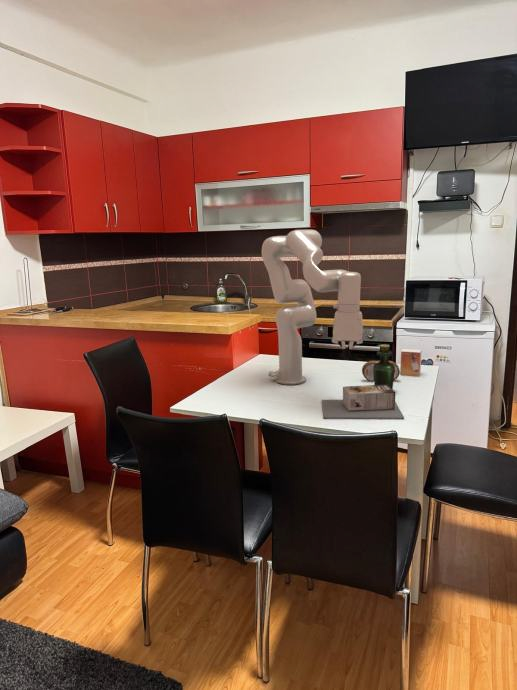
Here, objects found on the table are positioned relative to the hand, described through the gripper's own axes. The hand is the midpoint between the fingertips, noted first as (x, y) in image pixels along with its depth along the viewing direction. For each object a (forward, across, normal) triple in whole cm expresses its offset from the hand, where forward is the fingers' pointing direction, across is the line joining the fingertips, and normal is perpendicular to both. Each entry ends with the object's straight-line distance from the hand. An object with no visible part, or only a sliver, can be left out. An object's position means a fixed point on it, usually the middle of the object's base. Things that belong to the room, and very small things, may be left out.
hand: (346, 358), depth 174 cm
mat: (+16, +5, -9) cm, 19 cm away
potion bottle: (+16, +16, +12) cm, 26 cm away
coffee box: (+12, -1, -8) cm, 14 cm away
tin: (+17, +16, +26) cm, 35 cm away
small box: (+17, +30, +36) cm, 50 cm away
